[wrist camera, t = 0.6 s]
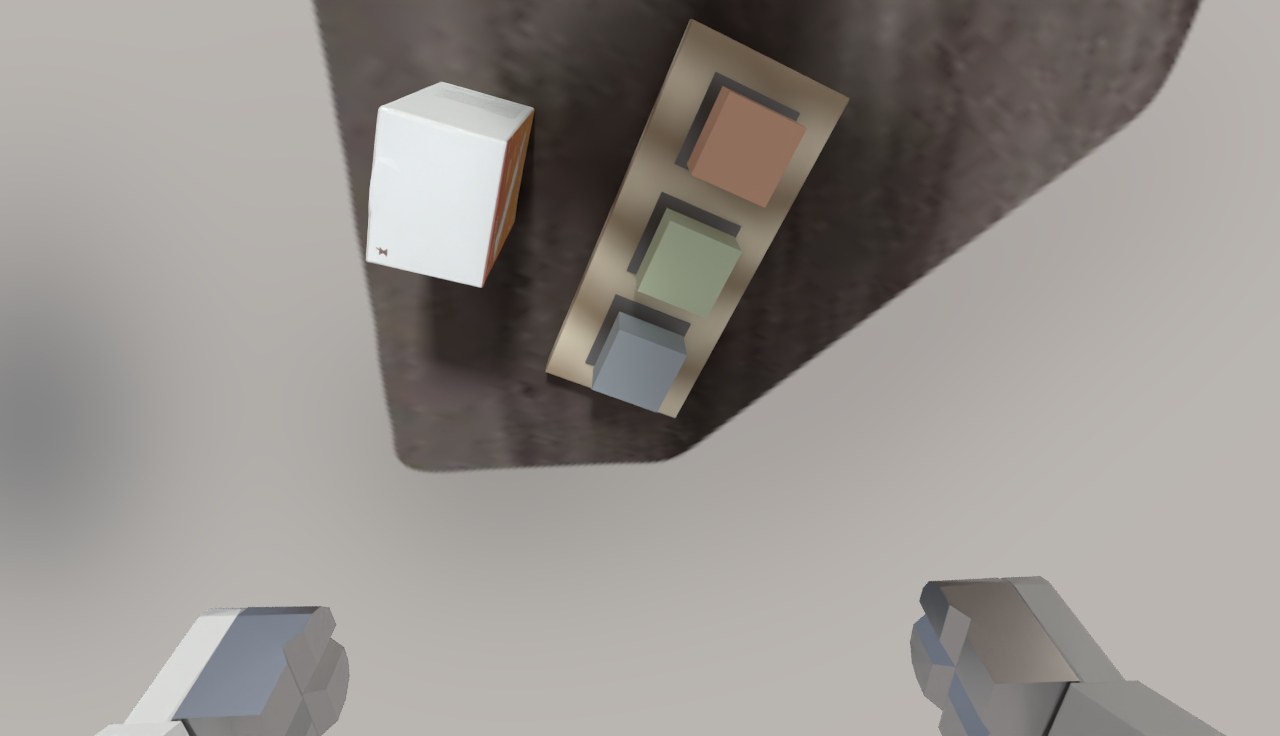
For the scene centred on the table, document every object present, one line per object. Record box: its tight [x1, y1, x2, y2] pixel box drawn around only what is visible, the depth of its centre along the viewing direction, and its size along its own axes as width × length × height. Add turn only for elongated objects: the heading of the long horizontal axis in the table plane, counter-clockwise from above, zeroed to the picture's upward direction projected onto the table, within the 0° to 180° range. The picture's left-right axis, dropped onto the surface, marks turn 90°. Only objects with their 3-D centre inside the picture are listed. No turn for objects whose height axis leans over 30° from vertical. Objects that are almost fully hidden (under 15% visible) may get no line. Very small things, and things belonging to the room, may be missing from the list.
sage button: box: [636, 208, 742, 318], centre depth 43 cm, size 5×5×3 cm
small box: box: [366, 82, 535, 288], centre depth 39 cm, size 8×6×13 cm
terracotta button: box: [687, 86, 807, 208], centre depth 40 cm, size 5×5×3 cm
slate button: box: [592, 311, 687, 413], centre depth 47 cm, size 5×5×3 cm
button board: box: [545, 19, 850, 418], centre depth 47 cm, size 26×11×2 cm, turn 156°
